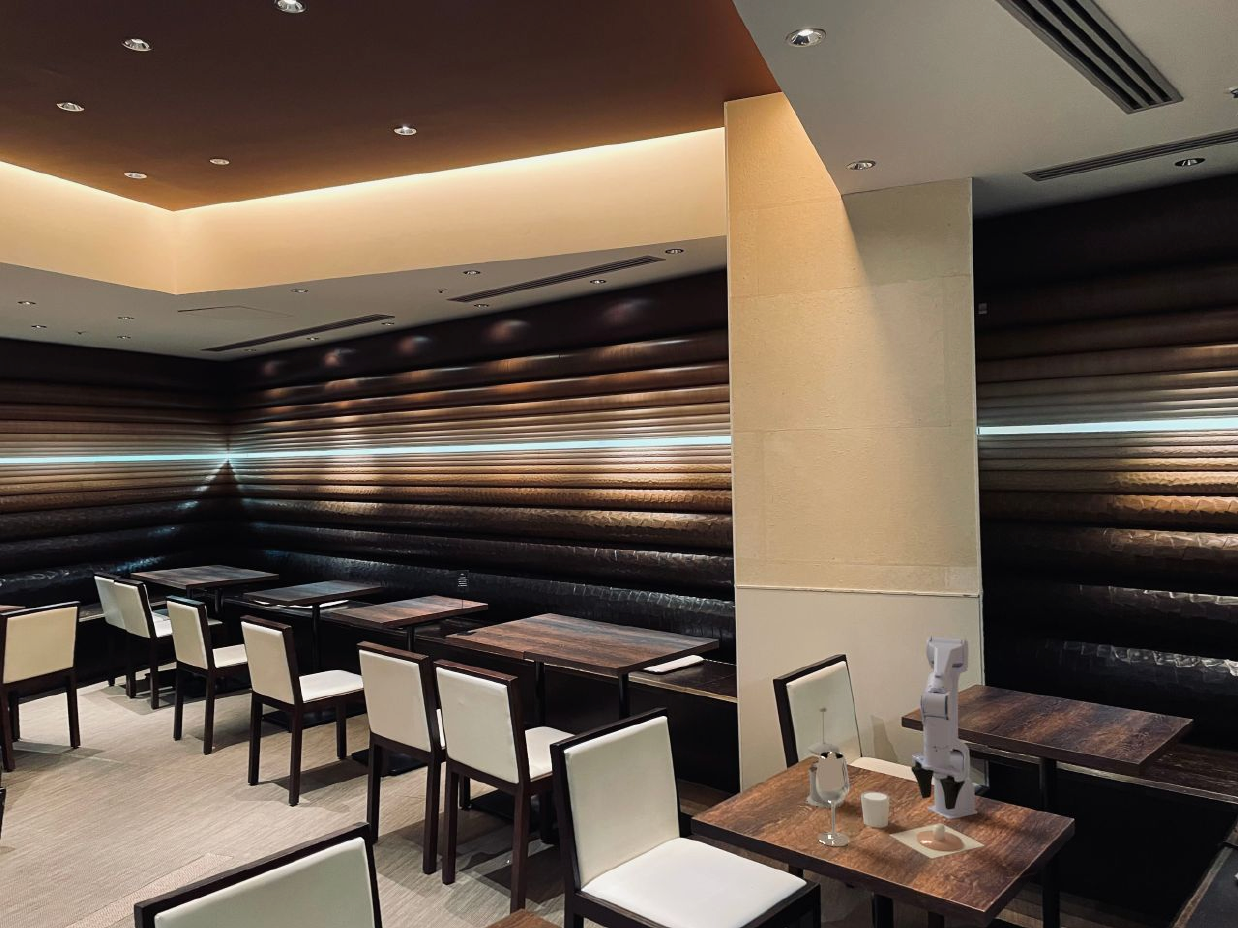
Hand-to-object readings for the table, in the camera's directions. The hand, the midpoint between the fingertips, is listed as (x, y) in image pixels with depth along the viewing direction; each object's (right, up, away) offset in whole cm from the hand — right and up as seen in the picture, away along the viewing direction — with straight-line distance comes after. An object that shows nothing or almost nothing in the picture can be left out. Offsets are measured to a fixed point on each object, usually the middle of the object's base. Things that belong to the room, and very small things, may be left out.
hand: (938, 802), depth 197 cm
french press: (-19, -11, +27) cm, 35 cm away
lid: (0, -9, 0) cm, 9 cm away
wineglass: (-24, -10, +3) cm, 26 cm away
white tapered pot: (-11, -10, +11) cm, 19 cm away
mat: (0, -9, +1) cm, 9 cm away
